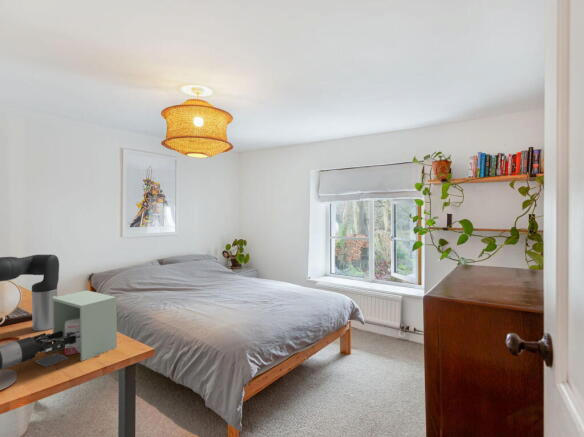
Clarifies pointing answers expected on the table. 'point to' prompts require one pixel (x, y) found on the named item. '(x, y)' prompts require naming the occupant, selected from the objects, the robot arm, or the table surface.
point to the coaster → (51, 359)
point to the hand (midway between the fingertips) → (68, 335)
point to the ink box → (72, 330)
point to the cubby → (88, 320)
